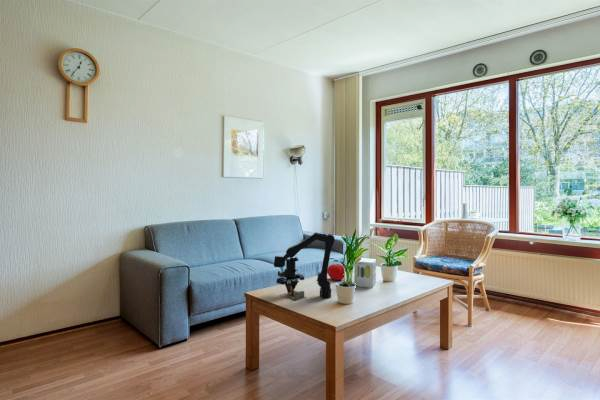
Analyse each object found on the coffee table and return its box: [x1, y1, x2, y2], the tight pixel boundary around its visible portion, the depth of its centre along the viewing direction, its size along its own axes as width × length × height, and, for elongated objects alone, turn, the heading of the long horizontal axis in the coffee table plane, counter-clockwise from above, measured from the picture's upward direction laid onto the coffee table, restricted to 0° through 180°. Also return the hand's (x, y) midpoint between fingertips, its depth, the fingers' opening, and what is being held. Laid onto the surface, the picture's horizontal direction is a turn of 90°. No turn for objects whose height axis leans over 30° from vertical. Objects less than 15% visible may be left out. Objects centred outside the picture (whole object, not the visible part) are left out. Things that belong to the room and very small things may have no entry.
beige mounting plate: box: [278, 290, 307, 302], centre depth 223 cm, size 14×10×5 cm
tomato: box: [327, 263, 345, 281], centre depth 267 cm, size 12×13×12 cm
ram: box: [287, 285, 295, 297], centre depth 224 cm, size 5×5×6 cm
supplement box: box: [353, 257, 377, 289], centre depth 254 cm, size 13×13×18 cm
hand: (290, 292), depth 224 cm, fingers closed on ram, 2 cm apart
